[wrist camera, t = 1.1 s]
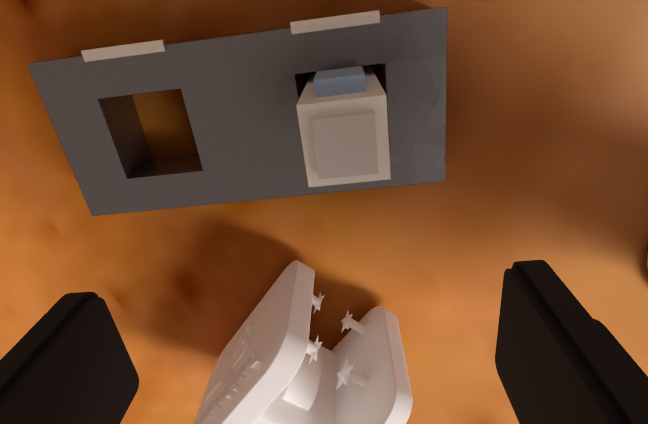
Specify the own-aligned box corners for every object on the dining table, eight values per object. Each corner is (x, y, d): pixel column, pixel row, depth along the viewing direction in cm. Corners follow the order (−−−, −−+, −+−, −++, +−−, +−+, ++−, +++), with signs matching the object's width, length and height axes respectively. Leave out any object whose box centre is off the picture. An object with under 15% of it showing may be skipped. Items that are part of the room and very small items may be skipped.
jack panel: (431, 2, 25) (448, 0, 21) (432, 160, 29) (446, 182, 25) (66, 51, 27) (21, 58, 23) (120, 192, 31) (90, 217, 27)
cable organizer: (304, 395, 41) (293, 525, 31) (213, 350, 39) (166, 475, 28) (396, 300, 35) (420, 422, 25) (294, 241, 33) (274, 348, 22)
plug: (369, 53, 26) (386, 78, 17) (374, 126, 28) (392, 184, 19) (309, 61, 26) (291, 89, 17) (318, 132, 29) (307, 192, 19)
